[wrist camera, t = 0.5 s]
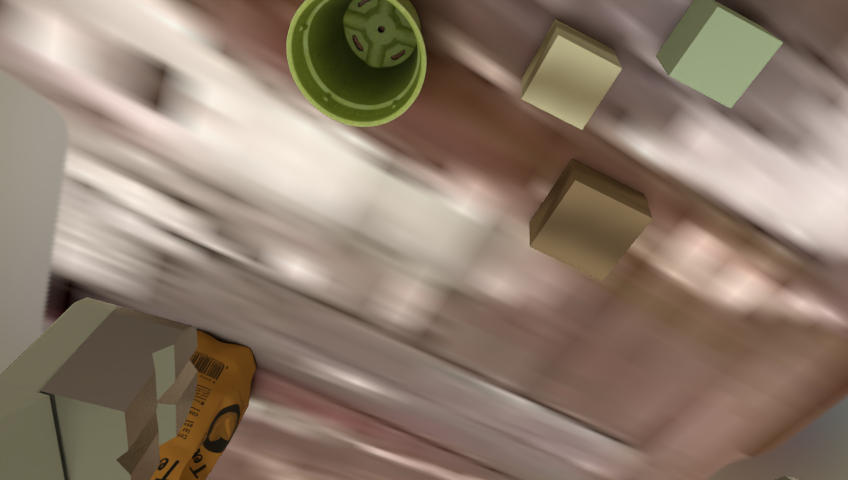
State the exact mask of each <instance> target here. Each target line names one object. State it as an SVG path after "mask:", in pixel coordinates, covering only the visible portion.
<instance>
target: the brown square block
mask: <svg viewBox="0 0 848 480" xmlns="http://www.w3.org/2000/svg"><path fill="white" fill-rule="evenodd" d="M652 219H653V218H652V215H651V212H650V209H649V207H648V204H647V201H646V198H645V195H643V194H641V193H639V192H637V191H635V190H633V189H631V188H629V187H627V186H625V185H623V184H621V183H619V182H617V181H615V180H613V179H611V178H609V177H607V176H605V175H603V174H601V173H599V172H597V171H595V170H593V169H591V168H589V167H587V166H585V165H583V164H581V163H579V162H577V161H575V160H573V159H572V160H571V161H570V163H569V164H568V166H567V167H566V169H565V170H564V172H563V173H562V175H561V176H560V178H559V179H558V181H557V182H556V184H555V185H554V187H553V188H552V190H551V191H550V193H549V194H548V196H547V197H546V199H545V200H544V202H543V203H542V205H541V206H540V208H539V209H538V211H537V212H536V214H535V215H534V217H533V218H532V220H531V221H530V247H532V248H534V249H536V250H538V251H540V252H543V253H545V254H547V255H549V256H551V257H553V258H555V259H557V260H559V261H561V262H563V263H566V264H568V265H570V266H572V267H574V268H576V269H578V270H580V271H582V272H584V273H587V274H589V275H591V276H593V277H595V278H597V279H599V280H601V281H603V280H604V278H605V277H606V276H607V275H608V273H609V272H610V271H611V270H612V268H613V267H614V266H615V265H616V264H617V262H618V261H619V260H620V259H621V257H622V256H623V255H624V254H625V252H626V251H627V250H628V249H629V247H630V246H631V245H632V244H633V242H634V241H635V240H636V239H637V237H638V236H639V235H640V234H641V232H642V231H643V230H644V229H645V227H646V226H647V225H648V224H649V222H650V221H651V220H652Z"/></svg>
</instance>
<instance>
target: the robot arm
mask: <svg viewBox="0 0 848 480" xmlns="http://www.w3.org/2000/svg"><path fill="white" fill-rule="evenodd" d="M197 348H198V346H197V329H195V328H194V327H192V326H190V325H186V324H183V323H179V322H176V321H172V320H169V319H165V318H161V317H158V316H154V315H151V314H147V313H144V312H140V311H136V310H133V309H129V308H126V307H119V306H116V305H112V304H109V303H105V302H102V301H98V300H95V299H91V298H84V299H82V300H79V301H77V302H75V303H74V304H73V305H72V306H71V307H69V308H68V309H67V310H66V311H65V312H64V313H63V314H62V315H61V316H60V317H59V318H58V319H57V320H56V321H55V322H54V323H53V324H52V325H51V326H50V327H49V328H48V329H47V330H46V331H45V332H44V333H43V334H42V335H41V336H40V337H39V338H38V339H37V340H36V341H35V342H34V343H33V344H32V345H30V346H29V347H28V349H26V350H25V351H24V352H23V353H22V354H21V355H20V356H19V357H18V358H17V359H16V360H15V361H14V362H13V363H12V364H11V365H10V366H9V367H8V368H7V369H6V370H5V371H4V372H3V373H2V374H1V375H0V480H150V479H151V477H152V476H153V474H154V472H155V471H156V469H157V467H158V466H159V464H160V455H159V446H160V445H162V444H163V443H165V442H167V441H169V440H171V439H173V438H174V437H176V436H177V434H178V433H179V431H180V429H181V427H182V426H183V424H184V422H185V421H186V419H187V416H188V414H189V411H190V408H191V406H192V403H193V401H194V397H195V392H196V387H197V369H196V368H195V367H194V365H193V364H192V363H191V361H190V358H191V357H192V355H193V354H194V352H195V351H196V349H197ZM775 480H801V479H797V478H792V477H788V476H783V477H781V478H778V479H775Z"/></svg>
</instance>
